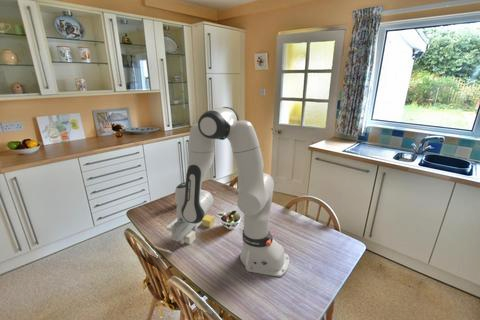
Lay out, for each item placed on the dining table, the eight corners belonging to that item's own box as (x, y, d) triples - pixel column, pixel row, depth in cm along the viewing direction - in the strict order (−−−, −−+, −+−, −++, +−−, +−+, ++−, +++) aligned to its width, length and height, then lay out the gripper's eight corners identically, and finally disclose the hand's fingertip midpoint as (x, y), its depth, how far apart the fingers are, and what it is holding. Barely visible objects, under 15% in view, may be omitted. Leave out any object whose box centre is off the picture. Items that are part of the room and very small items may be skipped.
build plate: (202, 223, 136) (202, 222, 136) (190, 235, 126) (190, 234, 126) (179, 217, 142) (179, 215, 142) (166, 228, 132) (165, 226, 132)
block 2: (214, 224, 136) (214, 216, 134) (210, 229, 132) (209, 221, 130) (207, 222, 138) (206, 214, 136) (202, 226, 134) (201, 219, 132)
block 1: (195, 239, 123) (195, 231, 121) (190, 245, 119) (189, 237, 117) (187, 237, 125) (187, 229, 123) (181, 243, 120) (181, 234, 119)
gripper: (178, 227, 106) (180, 252, 111) (202, 205, 124) (204, 228, 129) (166, 223, 109) (169, 248, 113) (192, 203, 126) (194, 225, 131)
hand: (188, 237), depth 121 cm, fingers open, 8 cm apart
